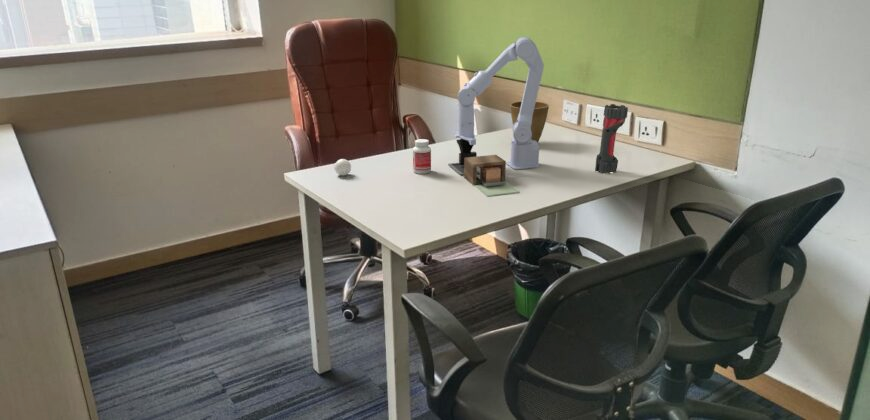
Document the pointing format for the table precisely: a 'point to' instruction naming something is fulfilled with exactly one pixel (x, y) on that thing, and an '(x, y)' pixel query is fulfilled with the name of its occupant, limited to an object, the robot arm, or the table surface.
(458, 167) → the grey flat square panel
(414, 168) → the pill bottle
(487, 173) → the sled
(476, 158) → the tunnel
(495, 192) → the pad
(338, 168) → the white ball
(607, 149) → the flashlight
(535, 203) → the table surface
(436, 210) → the table surface
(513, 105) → the plant pot
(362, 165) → the table surface
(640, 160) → the table surface
